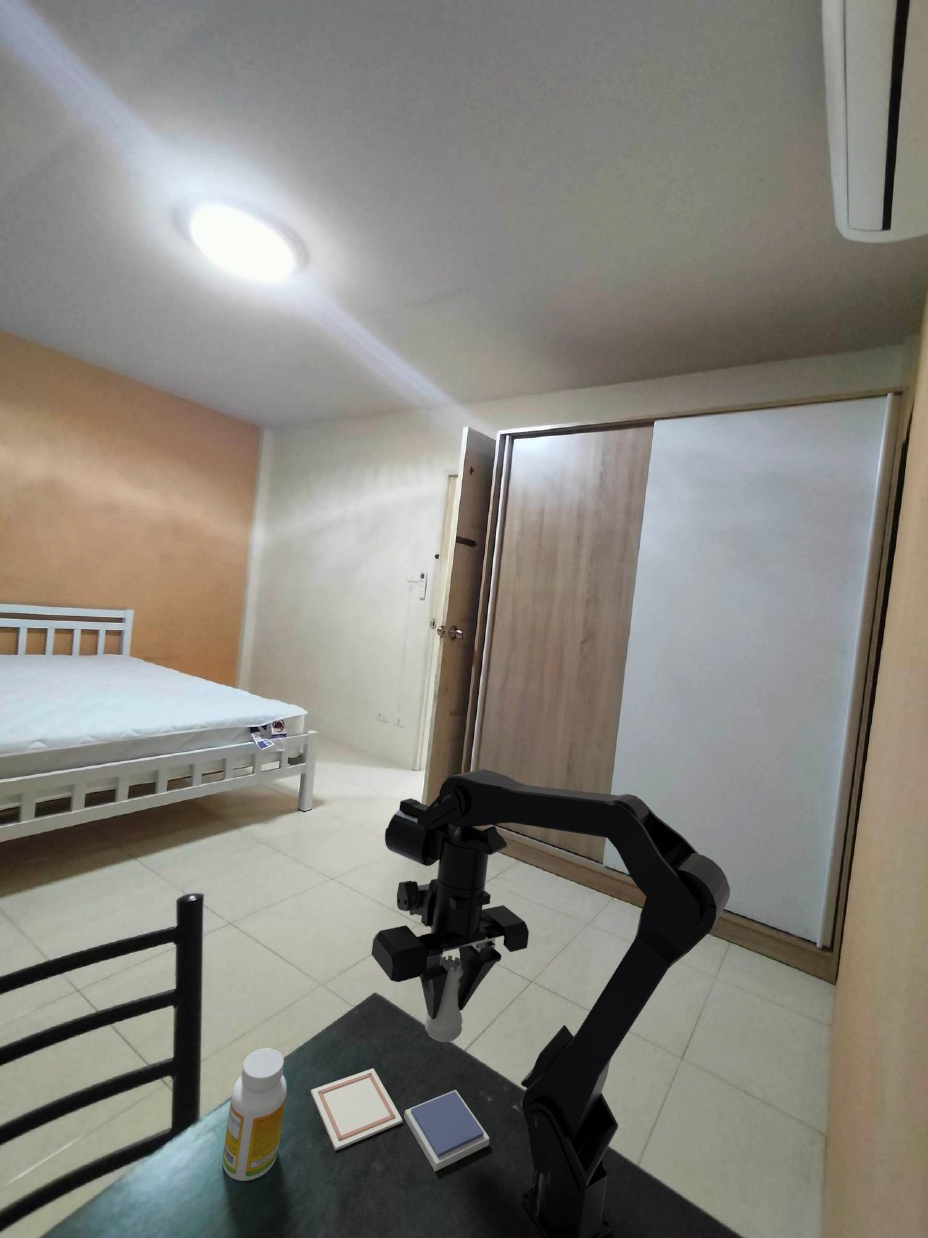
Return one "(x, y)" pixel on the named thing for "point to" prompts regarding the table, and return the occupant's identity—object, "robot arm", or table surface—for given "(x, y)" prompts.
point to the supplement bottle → (255, 1116)
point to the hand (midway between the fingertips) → (445, 1012)
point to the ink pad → (446, 1129)
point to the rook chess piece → (447, 1005)
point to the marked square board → (355, 1108)
